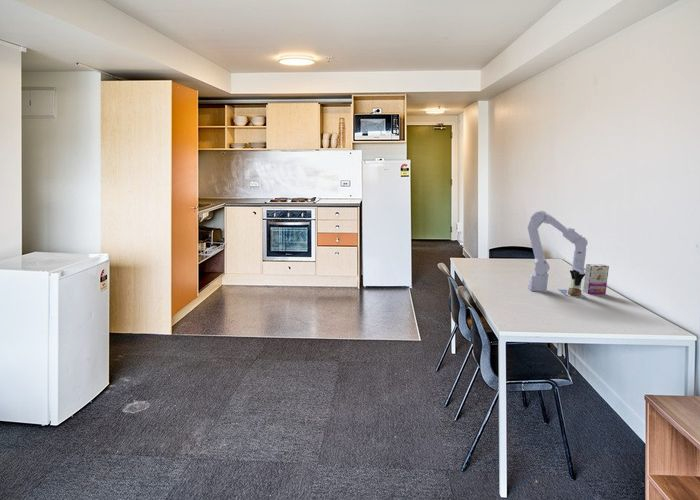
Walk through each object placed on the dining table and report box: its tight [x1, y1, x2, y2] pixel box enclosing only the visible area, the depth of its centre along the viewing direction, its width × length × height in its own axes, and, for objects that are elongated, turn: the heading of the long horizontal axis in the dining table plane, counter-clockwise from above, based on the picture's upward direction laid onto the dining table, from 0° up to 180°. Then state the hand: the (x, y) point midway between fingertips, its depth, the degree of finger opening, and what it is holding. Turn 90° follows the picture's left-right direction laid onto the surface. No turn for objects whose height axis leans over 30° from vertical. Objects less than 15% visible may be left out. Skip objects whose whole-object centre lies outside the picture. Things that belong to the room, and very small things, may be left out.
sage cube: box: [570, 278, 583, 290], centre depth 272 cm, size 4×4×4 cm
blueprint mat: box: [557, 288, 588, 299], centre depth 277 cm, size 11×16×1 cm
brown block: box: [568, 287, 583, 298], centre depth 273 cm, size 5×5×4 cm
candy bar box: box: [582, 263, 610, 295], centre depth 280 cm, size 11×5×16 cm, turn 101°
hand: (575, 284), depth 272 cm, fingers closed on sage cube, 4 cm apart
